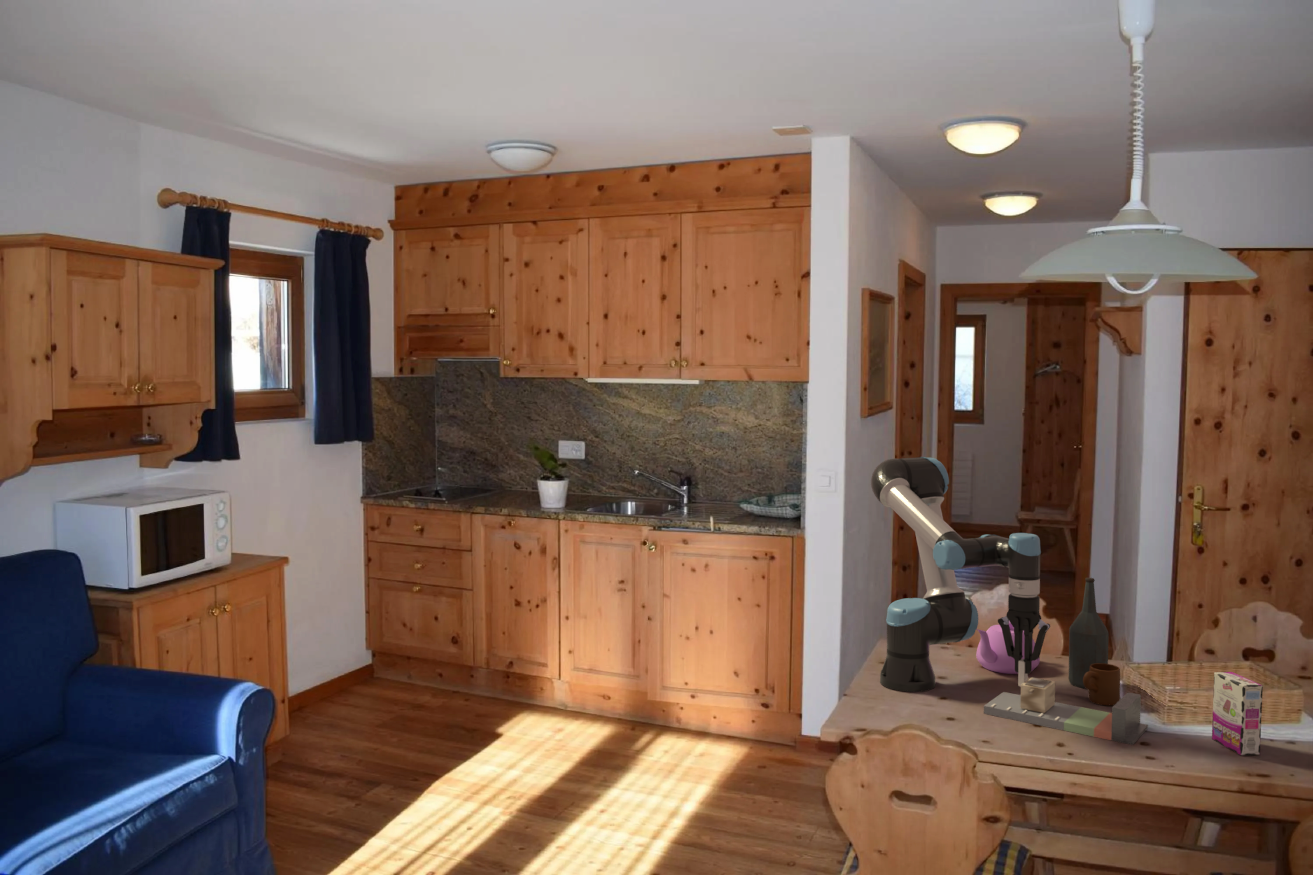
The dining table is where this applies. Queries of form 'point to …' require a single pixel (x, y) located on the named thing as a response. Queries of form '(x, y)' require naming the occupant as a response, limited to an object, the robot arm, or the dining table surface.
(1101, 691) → the mug
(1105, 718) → the track
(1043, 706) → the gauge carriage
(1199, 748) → the dining table surface
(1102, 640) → the bottle
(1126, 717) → the grey block
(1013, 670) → the teapot
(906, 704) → the dining table surface
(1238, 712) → the candy bar box
